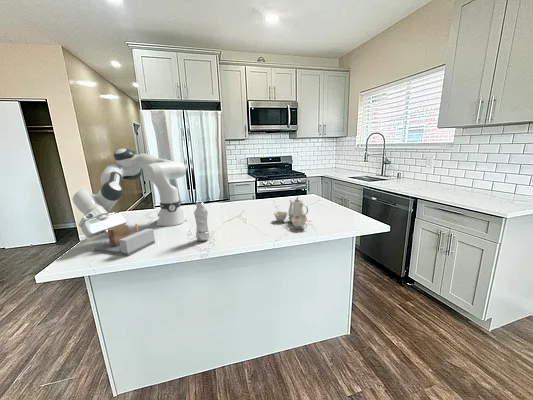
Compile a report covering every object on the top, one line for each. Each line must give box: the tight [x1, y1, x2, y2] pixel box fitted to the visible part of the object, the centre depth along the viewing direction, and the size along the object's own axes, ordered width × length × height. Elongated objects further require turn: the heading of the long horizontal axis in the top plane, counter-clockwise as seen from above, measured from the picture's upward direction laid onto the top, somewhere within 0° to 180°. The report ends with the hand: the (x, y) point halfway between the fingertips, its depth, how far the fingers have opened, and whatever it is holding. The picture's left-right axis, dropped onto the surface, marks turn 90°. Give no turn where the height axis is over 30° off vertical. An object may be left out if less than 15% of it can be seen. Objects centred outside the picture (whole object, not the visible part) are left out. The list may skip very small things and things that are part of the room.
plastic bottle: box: [193, 201, 210, 242], centre depth 124 cm, size 6×7×20 cm
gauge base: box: [93, 228, 156, 257], centre depth 120 cm, size 22×16×8 cm
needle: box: [134, 223, 139, 233], centre depth 124 cm, size 2×3×8 cm, turn 161°
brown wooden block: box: [107, 224, 136, 246], centre depth 123 cm, size 4×12×8 cm, turn 160°
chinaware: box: [273, 196, 309, 230], centre depth 146 cm, size 28×17×17 cm, turn 38°
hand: (115, 236), depth 122 cm, fingers closed, pressing on brown wooden block
